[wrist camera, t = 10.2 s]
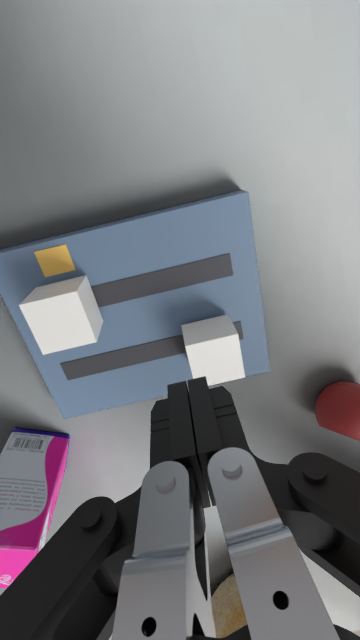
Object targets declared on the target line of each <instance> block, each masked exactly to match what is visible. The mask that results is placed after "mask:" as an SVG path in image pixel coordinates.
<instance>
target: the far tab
mask: <svg viewBox="0 0 360 640" xmlns="http://www.w3.org/2000/svg"><path fill="white" fill-rule="evenodd" d="M181 327H182V332H183V338H184V344H185V348H186V352H187V356H188V360H189V364H190V368H191V372H192V376H193V379H195V378H199V377H204V376H206V380H207V384H208V386H210V385H214V384H219V383H223V382H227V381H232V380H236V379H240V378H245V372H244V366H243V360H242V354H241V348H240V342H239V336H238V333H237V331H236V329H235V327H234V325H233V323H232V321H231V319H230V317H229V315H228V314H227V315H222V316H218V317H214V318H210V319H206V320H201V321H197V322H193V323H189V324H185V325H181Z"/></svg>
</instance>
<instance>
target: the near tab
mask: <svg viewBox="0 0 360 640" xmlns="http://www.w3.org/2000/svg"><path fill="white" fill-rule="evenodd" d="M19 307H20V309H21V311H22V313H23V315H24V317H25V319H26V321H27V323H28V325H29V327H30V329H31V331H32V333H33V335H34V337H35V340H36V342H37V344H38V346H39V348H40V350H41V352H42V354H43V355H45V354H49V353H53V352H58V351H62V350H66V349H70V348H74V347H79V346H83V345H87V344H91V343H95V342H97V340H98V337H99V334H100V330H101V327H102V324H103V319H102V316H101V313H100V311H99V308H98V305H97V302H96V300H95V297H94V294H93V292H92V289H91V286H90V283H89V281H88V278H87V275H85V276H81V277H77V278H72V279H68V280H64V281H60V282H56V283H52V284H48V285H44V286H40V287H36V288H35V289H34V290H33V291H32V292H31V293H30V294H29V295H28V296H27V297H26V298H25V299H24V300H23V301H22V302H21V303H20V305H19Z"/></svg>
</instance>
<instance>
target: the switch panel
mask: <svg viewBox="0 0 360 640" xmlns="http://www.w3.org/2000/svg"><path fill="white" fill-rule="evenodd" d="M85 275H87V278H88V281H89V283H90V286H91V289H92V292H93V294H94V297H95V300H96V302H97V305H98V308H99V311H100V313H101V316H102V319H103V324H102V327H101V330H100V334H99V337H98V340H97V342H95V343H91V344H87V345H83V346H79V347H74V348H70V349H66V350H62V351H58V352H53V353H49V354H45V355H43V354H42V352H41V350H40V348H39V346H38V344H37V342H36V340H35V337H34V335H33V333H32V331H31V329H30V327H29V325H28V323H27V321H26V319H25V317H24V315H23V313H22V311H21V309H20V307H19V305H20V303H21V302H22V301H23V300H24V299H25V298H26V297H27V296H28V295H29V294H30V293H31V292H32V291H33V290H34V289H35V288H36V287H40V286H44V285H48V284H52V283H56V282H60V281H64V280H68V279H72V278H77V277H81V276H85ZM0 294H1V296H2V298H3V300H4V302H5V304H6V306H7V308H8V310H9V312H10V314H11V316H12V318H13V320H14V322H15V324H16V326H17V328H18V330H19V332H20V334H21V336H22V338H23V340H24V342H25V343H26V345H27V347H28V349H29V351H30V353H31V355H32V357H33V359H34V361H35V363H36V365H37V367H38V369H39V371H40V373H41V375H42V377H43V379H44V381H45V383H46V385H47V387H48V389H49V391H50V393H51V395H52V397H53V399H54V401H55V403H56V405H57V407H58V409H59V411H60V413H61V415H62V417H63V419H66V418H70V417H75V416H79V415H83V414H88V413H92V412H96V411H101V410H105V409H109V408H114V407H118V406H122V405H126V404H131V403H135V402H139V401H144V400H148V399H152V398H157V397H161V396H165V395H168V390H167V385H169V384H173V383H178V382H182V381H186V382H187V380H190V379H193V376H192V372H191V368H190V364H189V360H188V356H187V352H186V348H185V344H184V338H183V332H182V327H181V325H185V324H189V323H193V322H197V321H201V320H206V319H210V318H214V317H218V316H222V315H227V314H228V315H229V317H230V319H231V321H232V323H233V325H234V327H235V329H236V331H237V333H238V336H239V342H240V348H241V354H242V360H243V366H244V372H245V377H248V376H252V375H256V374H261V373H265V372H269V371H270V364H269V356H268V348H267V340H266V332H265V323H264V315H263V307H262V299H261V291H260V283H259V275H258V267H257V259H256V251H255V243H254V235H253V227H252V219H251V211H250V202H249V194H248V192H247V191H244V190H239V191H235V192H231V193H227V194H223V195H219V196H215V197H210V198H206V199H202V200H198V201H194V202H190V203H186V204H182V205H178V206H174V207H170V208H166V209H162V210H158V211H154V212H150V213H146V214H142V215H138V216H134V217H130V218H126V219H122V220H118V221H114V222H110V223H106V224H101V225H97V226H93V227H89V228H85V229H81V230H77V231H73V232H69V233H65V234H61V235H57V236H53V237H49V238H45V239H41V240H37V241H33V242H29V243H25V244H21V245H17V246H13V247H9V248H5V249H1V250H0ZM187 386H188V382H187Z"/></svg>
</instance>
